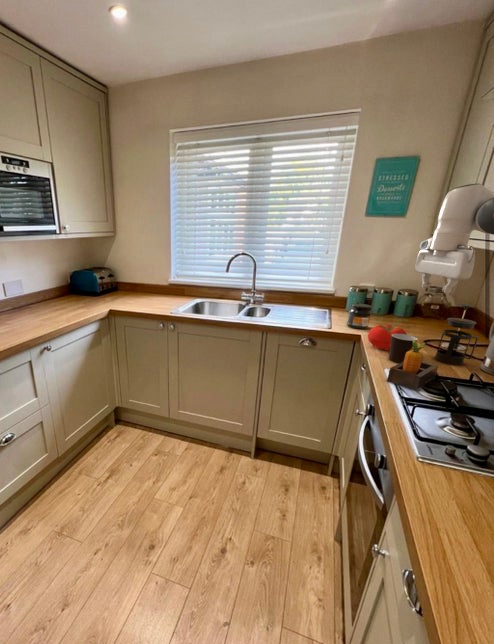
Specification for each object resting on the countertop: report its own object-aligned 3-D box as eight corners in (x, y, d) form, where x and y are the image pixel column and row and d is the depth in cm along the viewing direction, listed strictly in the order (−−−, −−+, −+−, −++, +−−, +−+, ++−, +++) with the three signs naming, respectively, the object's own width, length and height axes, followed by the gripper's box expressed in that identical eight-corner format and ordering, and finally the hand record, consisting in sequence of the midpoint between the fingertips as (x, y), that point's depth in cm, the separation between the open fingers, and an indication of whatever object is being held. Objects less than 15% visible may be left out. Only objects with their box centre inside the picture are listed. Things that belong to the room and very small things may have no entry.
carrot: (414, 381, 113) (427, 340, 108) (415, 387, 109) (428, 344, 104) (397, 378, 116) (409, 337, 111) (398, 383, 112) (409, 341, 107)
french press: (429, 359, 134) (446, 303, 126) (435, 354, 140) (452, 301, 132) (465, 368, 126) (486, 309, 118) (470, 363, 132) (491, 306, 124)
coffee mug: (398, 365, 127) (405, 341, 124) (380, 357, 135) (386, 334, 131) (421, 363, 130) (429, 339, 127) (402, 355, 138) (408, 332, 135)
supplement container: (367, 330, 172) (372, 308, 168) (345, 327, 177) (349, 305, 173) (368, 326, 180) (373, 304, 176) (347, 323, 185) (351, 302, 181)
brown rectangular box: (434, 378, 116) (438, 365, 114) (416, 391, 107) (420, 377, 105) (406, 370, 123) (409, 358, 121) (386, 381, 113) (390, 367, 112)
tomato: (407, 348, 147) (413, 326, 144) (397, 356, 136) (403, 333, 133) (373, 340, 157) (377, 320, 153) (360, 347, 146) (365, 326, 142)
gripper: (488, 246, 90) (471, 296, 94) (436, 243, 109) (424, 285, 114) (464, 245, 90) (448, 296, 95) (417, 242, 109) (406, 284, 114)
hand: (435, 290), depth 104 cm, fingers open, 8 cm apart
